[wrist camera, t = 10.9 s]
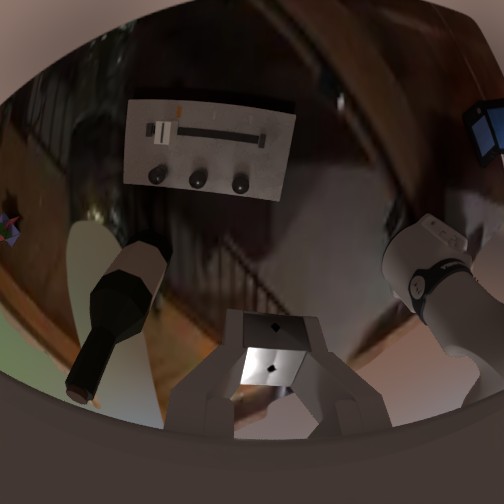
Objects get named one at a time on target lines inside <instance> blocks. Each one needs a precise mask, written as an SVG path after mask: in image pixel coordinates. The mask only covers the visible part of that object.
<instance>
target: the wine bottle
mask: <svg viewBox="0 0 504 504" xmlns="http://www.w3.org/2000/svg"><path fill="white" fill-rule="evenodd" d="M172 253H173V251H172V249H171V247H170V246H169V244H168V242H167V240H166V238H165V237H164V236H163V235H160V234H157V233H155V232H152V231H149V230H145V231H143V232H141V233H139V234H137V235H134V236H133V237H132V238H131V239H130V240H129V242H128V243H127V244H126V246H125V247H124V248H123V249H122V251H121V252H120V254H119V255H118V256H117V257H116V259H115V260H114V262H113V263H112V264H111V266H110V267H109V268H108V269H107V271H106V272H105V274H104V275H103V277H102V278H101V279H100V281H99V282H98V283H97V285H96V287H95V288H94V289H93V291H92V292H91V294H90V319H91V326H92V330H91V332H90V333H89V335H88V337H87V339H86V341H85V343H84V345H83V347H82V349H81V350H80V352H79V354H78V356H77V358H76V360H75V362H74V364H73V366H72V368H71V371H70V373H69V375H68V377H67V379H66V381H65V384H66V388H67V390H66V393H67V395H68V396H69V397H70V398H71V399H72V400H74V401H76V402H78V403H80V404H87V402H88V400H93V399H94V396H95V393H96V391H97V388H98V385H99V383H100V380H101V378H102V375H103V373H104V370H105V368H106V365H107V363H108V361H109V358H110V356H111V354H112V351H113V349H114V347H115V344H117V343H119V342H121V341H123V340H126V339H128V338H130V337H132V336H134V335H136V334H138V333H140V332H141V331H142V328H143V325H144V323H145V320H146V318H147V315H148V313H149V310H150V308H151V306H152V303H153V301H154V298H155V296H156V294H157V291H158V289H159V286H160V284H161V282H162V280H163V277H164V275H165V273H166V270H167V268H168V266H169V263H170V259H171V256H172Z"/></svg>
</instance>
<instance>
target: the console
mask: <svg viewBox="0 0 504 504" xmlns="http://www.w3.org/2000/svg"><path fill="white" fill-rule="evenodd" d="M295 119H296V115H292V114H287V113H282V112H277V111H271V110H265V109H259V108H253V107H246V106H238V105H230V104H221V103H211V102H199V101H183V100H129V101H128V111H127V121H126V134H125V150H124V184H138V185H150V186H161V187H171V188H181V189H190V190H199V191H208V192H216V193H224V194H231V195H239V196H246V197H253V198H260V199H267V200H273V201H279V200H280V195H281V190H282V185H283V180H284V175H285V170H286V165H287V160H288V155H289V150H290V145H291V140H292V134H293V129H294V124H295ZM162 120H172V121H179V122H178V130H177V140H176V142H174V143H172V144H169V145H165V144H154V139H155V128H156V121H162Z"/></svg>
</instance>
